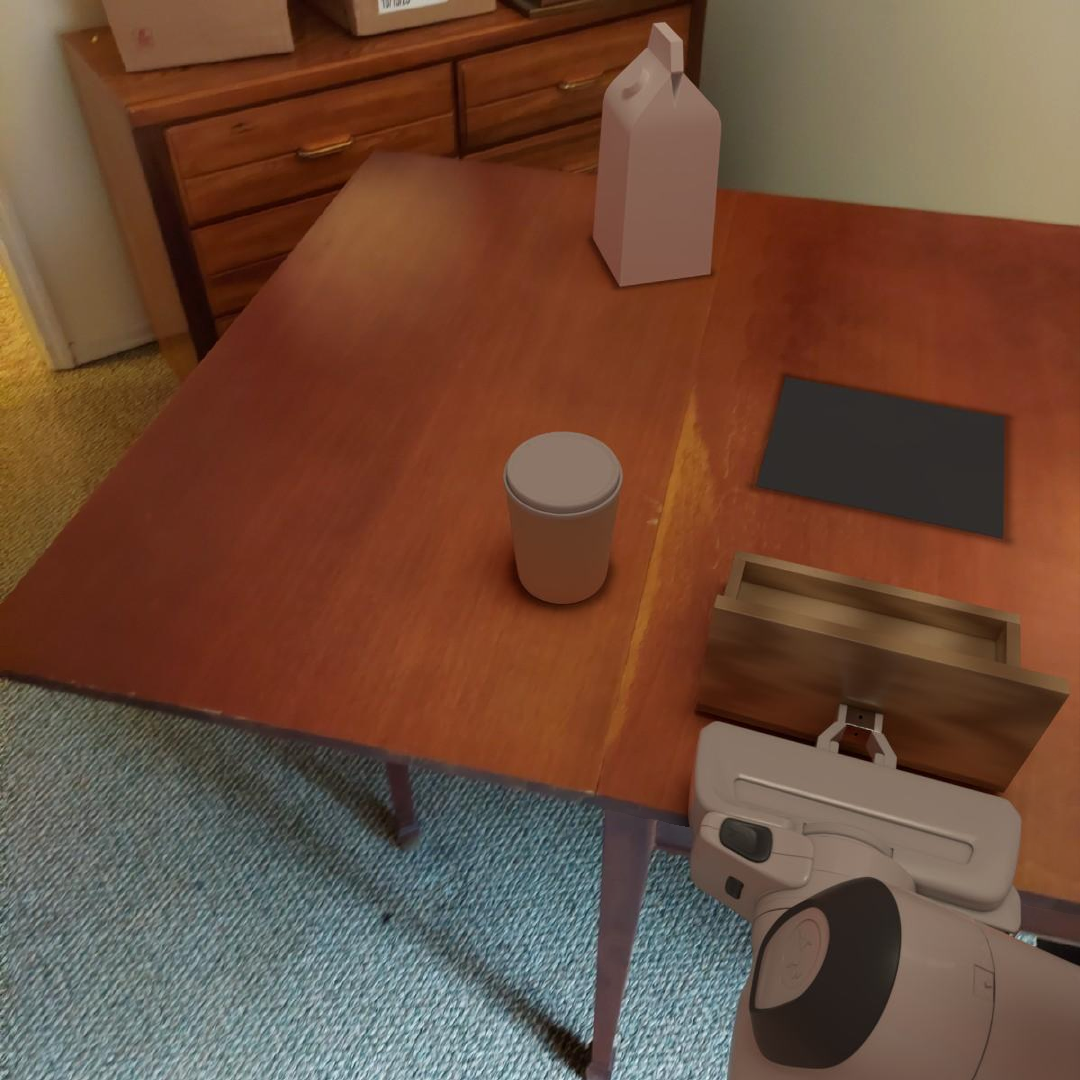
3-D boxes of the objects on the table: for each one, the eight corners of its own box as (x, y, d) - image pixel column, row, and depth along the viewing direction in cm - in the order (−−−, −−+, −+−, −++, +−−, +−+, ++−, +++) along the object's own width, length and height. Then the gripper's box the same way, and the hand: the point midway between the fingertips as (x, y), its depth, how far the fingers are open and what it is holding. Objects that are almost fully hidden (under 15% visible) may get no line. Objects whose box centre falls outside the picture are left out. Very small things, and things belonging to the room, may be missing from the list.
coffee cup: (638, 568, 83) (647, 464, 74) (566, 630, 78) (567, 527, 69) (558, 517, 87) (558, 413, 79) (486, 573, 83) (477, 469, 74)
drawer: (1002, 648, 76) (1062, 537, 67) (1000, 798, 67) (1070, 694, 58) (729, 583, 82) (751, 472, 72) (693, 714, 72) (713, 606, 63)
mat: (1003, 418, 97) (1004, 417, 97) (1002, 540, 85) (1003, 538, 85) (785, 378, 102) (785, 376, 102) (755, 487, 90) (756, 485, 90)
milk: (710, 274, 116) (740, 46, 98) (619, 286, 114) (632, 57, 96) (678, 227, 124) (699, 8, 106) (592, 238, 123) (599, 18, 104)
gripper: (1041, 935, 52) (1036, 728, 61) (674, 825, 57) (720, 649, 66) (1002, 977, 57) (1003, 779, 66) (665, 872, 61) (709, 701, 70)
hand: (859, 713), depth 66 cm, fingers closed, pressing on drawer
